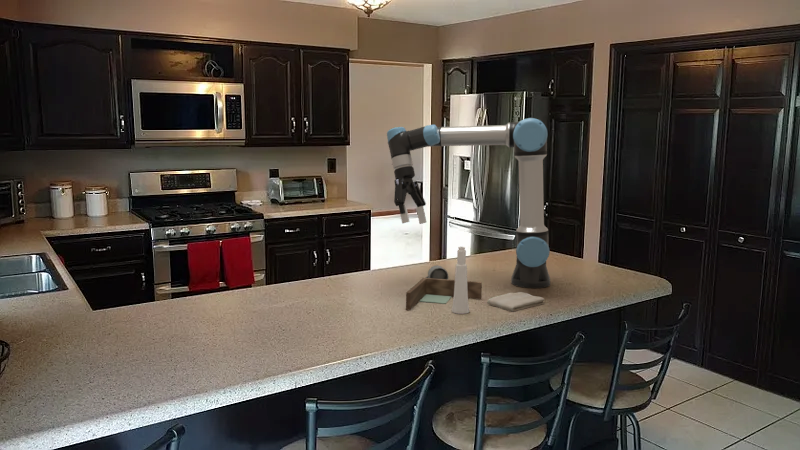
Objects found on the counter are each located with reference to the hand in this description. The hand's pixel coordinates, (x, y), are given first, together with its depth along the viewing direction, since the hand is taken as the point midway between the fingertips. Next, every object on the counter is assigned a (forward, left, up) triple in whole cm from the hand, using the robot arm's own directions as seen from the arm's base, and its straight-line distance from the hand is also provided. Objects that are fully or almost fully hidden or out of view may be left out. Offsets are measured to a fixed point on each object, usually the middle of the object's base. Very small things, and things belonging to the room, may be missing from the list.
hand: (414, 223), depth 228 cm
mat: (-11, +9, -26) cm, 30 cm away
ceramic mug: (-5, -12, -26) cm, 29 cm away
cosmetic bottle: (-22, +21, -26) cm, 40 cm away
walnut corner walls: (-15, +14, -26) cm, 33 cm away
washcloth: (-39, +6, -27) cm, 48 cm away
